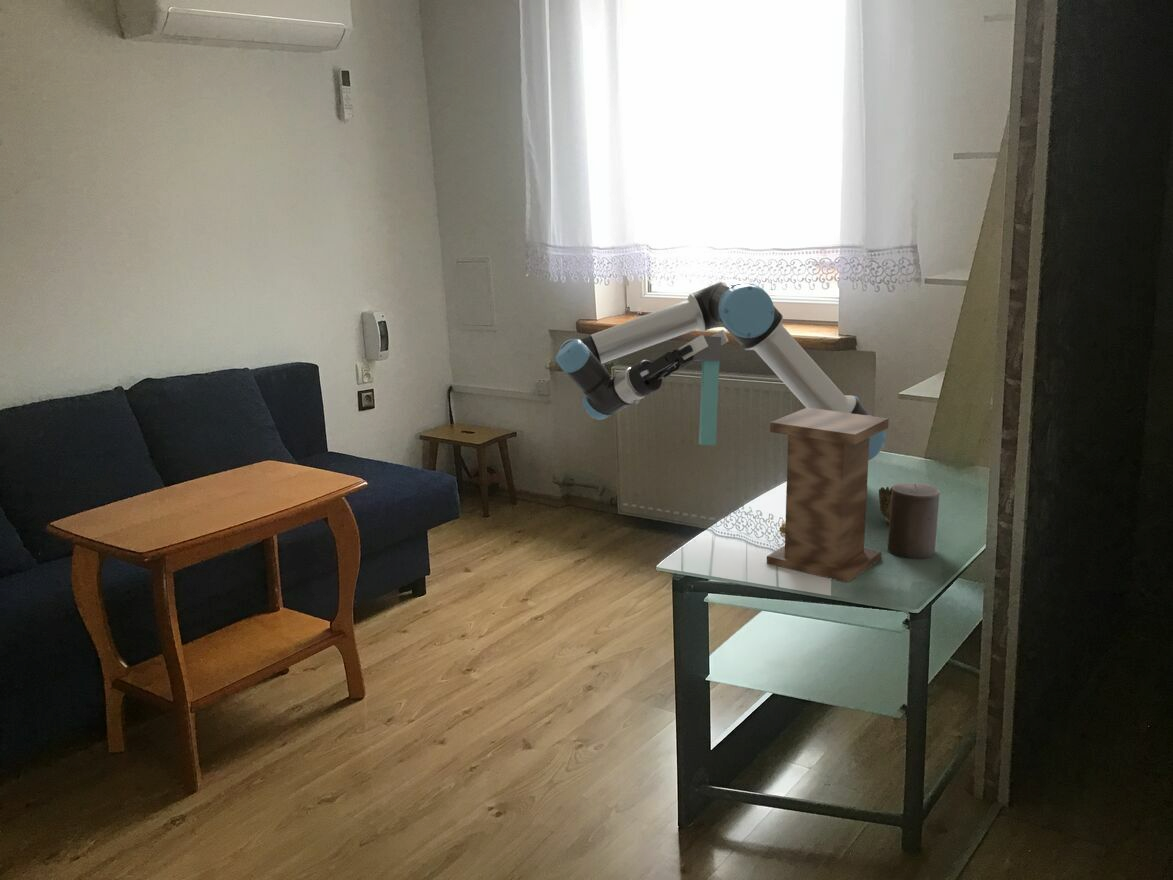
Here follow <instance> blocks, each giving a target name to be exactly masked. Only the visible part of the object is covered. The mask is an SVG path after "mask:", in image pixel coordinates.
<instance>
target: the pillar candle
mask: <svg viewBox="0 0 1173 880" xmlns="http://www.w3.org/2000/svg"><path fill="white" fill-rule="evenodd" d="M891 487H892V494H891V506H890V519H889V525H888V533H887V551H888V550H889V551H888V552H889V553H891V554H893V555H895V556H897V557H900V556H901V557H900V558H907V559H926V558H927V557H928V558H930V556H931V557H932V555H933V556H934V555H935V553H936V541H937V540H936V539H937V531H938V530H937V529H938V528H937V527H938V518H939V507H940V505H939V502H940V494H941V490H939V489H938V488H937V487H935V486H933V485H928V484H924V483H918V482H901V483H897V484H893V485H892V486H891Z"/></svg>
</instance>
